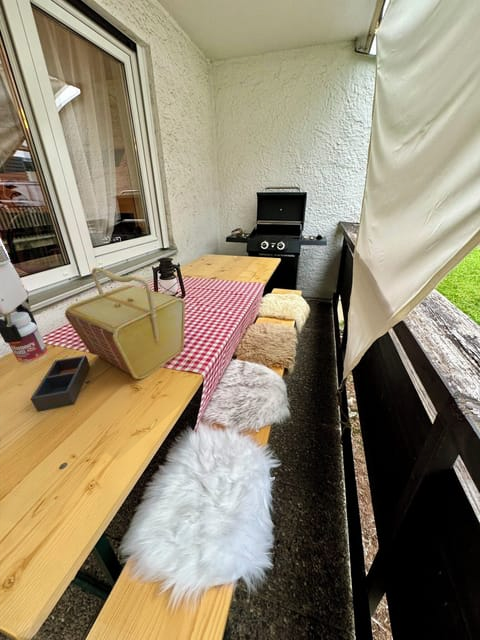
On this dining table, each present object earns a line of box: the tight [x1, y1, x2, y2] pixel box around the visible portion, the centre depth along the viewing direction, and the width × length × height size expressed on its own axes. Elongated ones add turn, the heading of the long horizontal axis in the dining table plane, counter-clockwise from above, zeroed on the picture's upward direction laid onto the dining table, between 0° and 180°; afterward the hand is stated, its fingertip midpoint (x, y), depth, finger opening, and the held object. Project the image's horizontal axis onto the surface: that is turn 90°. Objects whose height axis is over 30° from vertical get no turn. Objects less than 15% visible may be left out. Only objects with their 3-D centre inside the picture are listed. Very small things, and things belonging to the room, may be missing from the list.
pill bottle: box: [1, 312, 49, 365], centre depth 61 cm, size 6×6×11 cm
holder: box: [29, 354, 91, 412], centre depth 77 cm, size 9×17×5 cm, turn 14°
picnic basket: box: [64, 267, 186, 380], centre depth 84 cm, size 29×26×30 cm
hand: (22, 333), depth 60 cm, fingers closed on pill bottle, 6 cm apart
